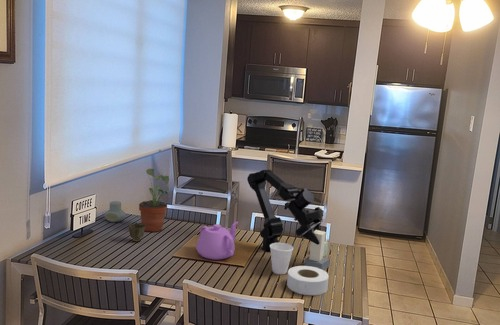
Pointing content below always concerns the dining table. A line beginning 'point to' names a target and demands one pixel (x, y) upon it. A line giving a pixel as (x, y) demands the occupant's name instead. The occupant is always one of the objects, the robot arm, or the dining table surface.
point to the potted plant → (154, 207)
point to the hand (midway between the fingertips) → (321, 242)
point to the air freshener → (115, 212)
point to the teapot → (216, 242)
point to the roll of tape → (307, 280)
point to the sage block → (326, 248)
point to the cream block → (318, 246)
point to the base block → (318, 263)
